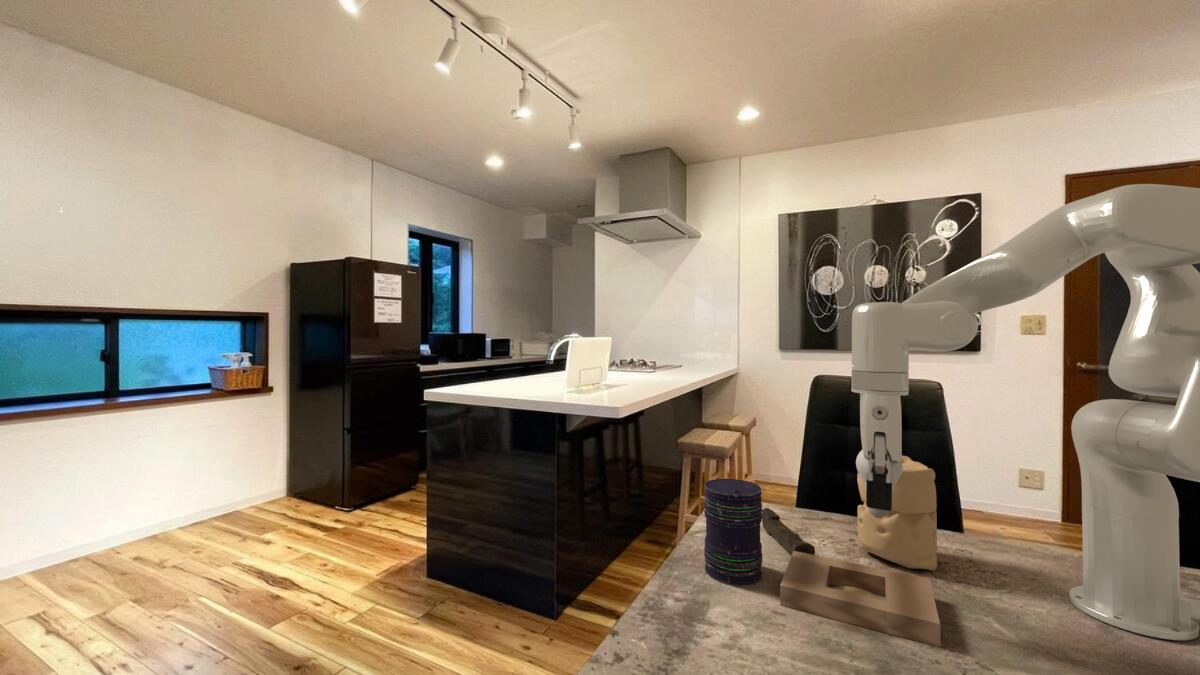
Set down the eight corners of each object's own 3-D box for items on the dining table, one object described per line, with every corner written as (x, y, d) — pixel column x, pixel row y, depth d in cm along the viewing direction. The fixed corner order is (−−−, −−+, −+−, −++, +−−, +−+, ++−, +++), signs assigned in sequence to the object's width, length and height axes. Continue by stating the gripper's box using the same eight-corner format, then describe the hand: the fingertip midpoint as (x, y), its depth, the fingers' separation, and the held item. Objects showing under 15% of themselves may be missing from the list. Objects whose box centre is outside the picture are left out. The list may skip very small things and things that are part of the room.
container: (912, 544, 94) (911, 454, 94) (953, 575, 81) (952, 471, 82) (846, 542, 95) (845, 452, 95) (877, 572, 82) (876, 469, 83)
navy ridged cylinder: (699, 558, 88) (699, 478, 88) (752, 559, 87) (752, 478, 88) (710, 586, 78) (710, 495, 78) (770, 586, 77) (770, 495, 78)
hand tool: (816, 566, 85) (816, 540, 85) (794, 566, 85) (794, 540, 85) (775, 526, 104) (775, 505, 104) (757, 526, 104) (757, 505, 104)
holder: (929, 597, 74) (929, 578, 74) (940, 647, 62) (940, 624, 62) (793, 567, 84) (793, 550, 84) (780, 604, 72) (780, 585, 72)
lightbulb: (846, 513, 73) (847, 442, 73) (872, 508, 75) (873, 440, 76) (884, 528, 67) (884, 451, 68) (911, 522, 70) (912, 448, 70)
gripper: (913, 389, 62) (912, 526, 62) (904, 381, 77) (903, 491, 77) (850, 385, 66) (848, 515, 66) (852, 379, 81) (851, 484, 81)
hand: (878, 501), depth 72 cm, fingers closed on lightbulb, 5 cm apart
